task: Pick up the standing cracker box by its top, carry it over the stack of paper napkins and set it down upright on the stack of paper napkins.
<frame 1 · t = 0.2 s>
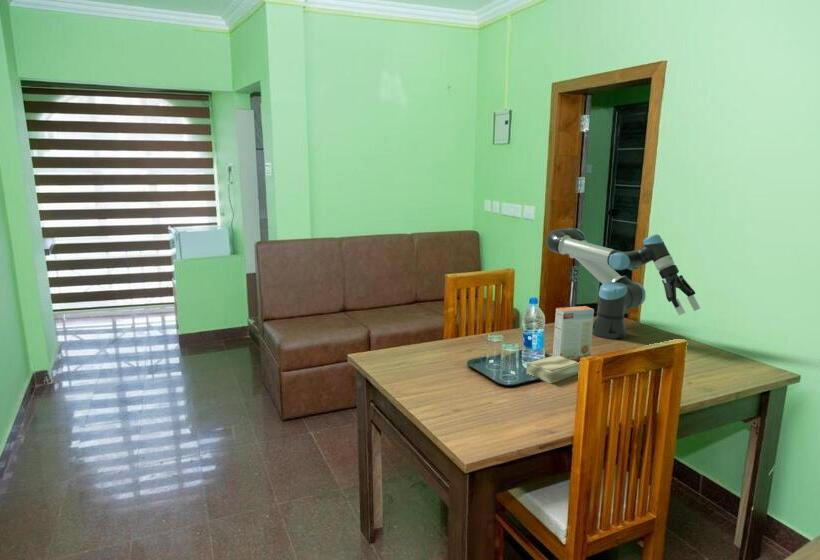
hand: (689, 311, 234), 15 cm above the table, tool tilted 35°, fingers open, 13 cm apart
cracker box: (570, 359, 216), on the table
stack of paper napkins: (552, 373, 200), on the table
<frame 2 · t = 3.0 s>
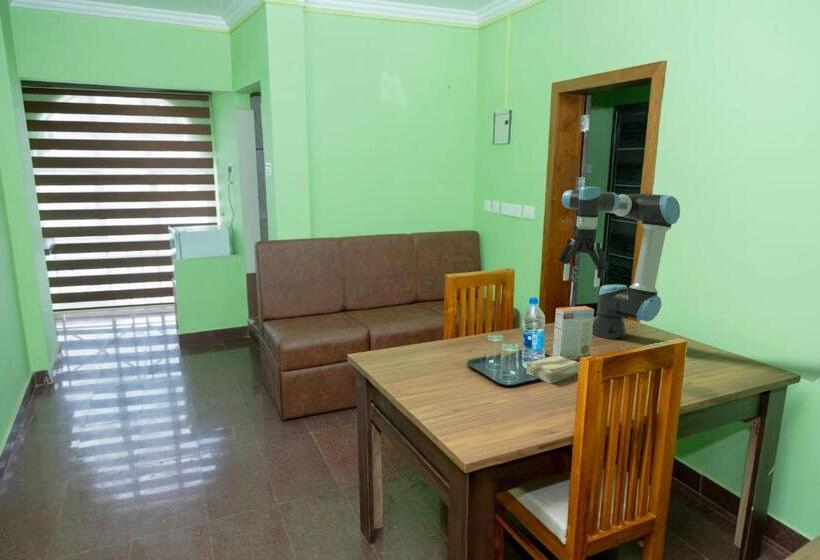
hand: (580, 283, 209), 31 cm above the table, tool pointing down, fingers open, 13 cm apart
nothing on the table moved.
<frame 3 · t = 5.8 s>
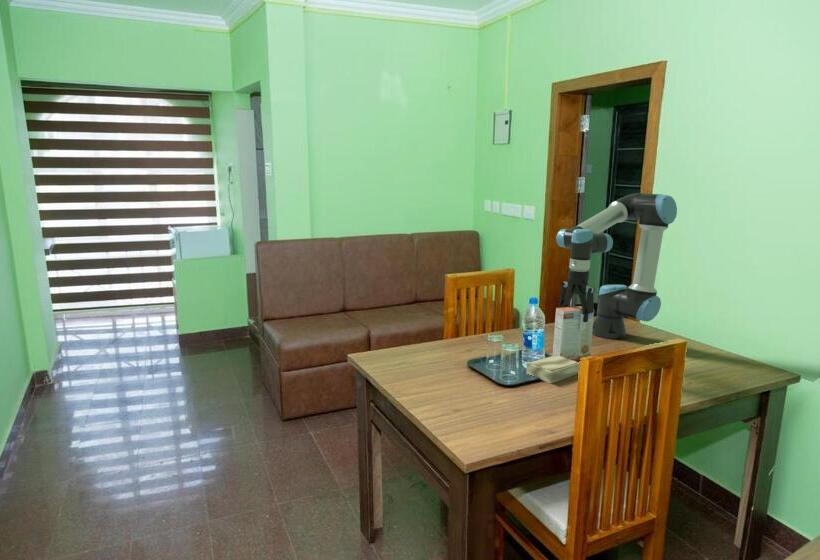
hand: (573, 327, 213), 13 cm above the table, tool pointing down, fingers closed on cracker box, 7 cm apart
cracker box: (570, 359, 216), on the table, touching gripper
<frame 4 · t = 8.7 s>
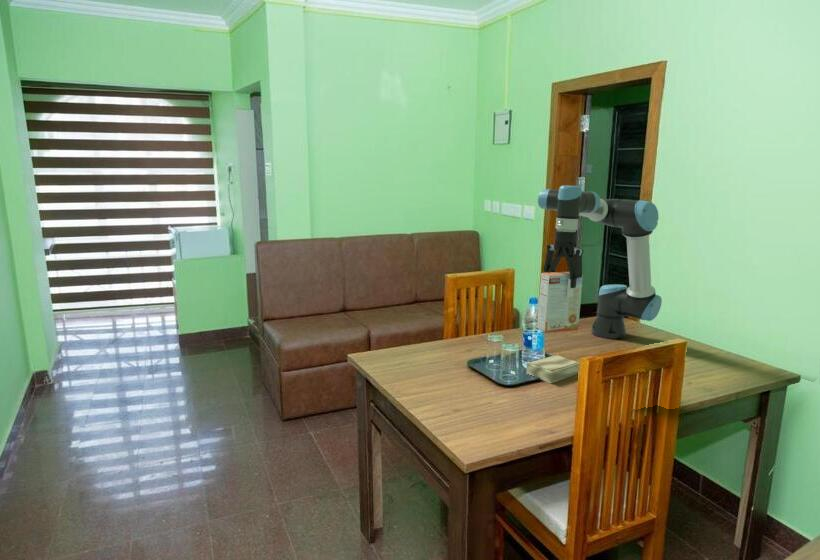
hand: (560, 294, 194), 30 cm above the table, tool pointing down, fingers closed on cracker box, 7 cm apart
cracker box: (556, 330, 197), point 16 cm above the table, touching gripper
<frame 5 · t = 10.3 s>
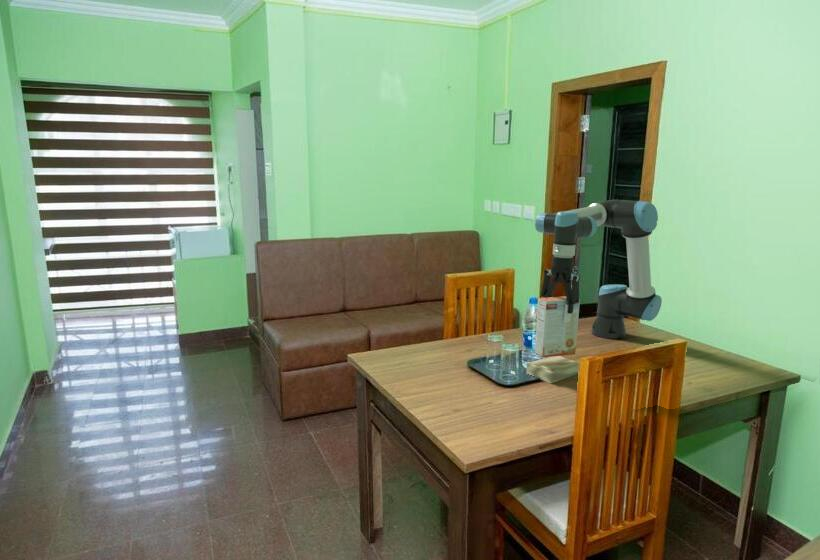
hand: (557, 319, 195), 21 cm above the table, tool pointing down, fingers closed on cracker box, 7 cm apart
cracker box: (554, 354, 198), point 7 cm above the table, touching gripper
when the fingers open (18 cm above the table, at t = 11.7 s): cracker box stays where it is, resting on stack of paper napkins.
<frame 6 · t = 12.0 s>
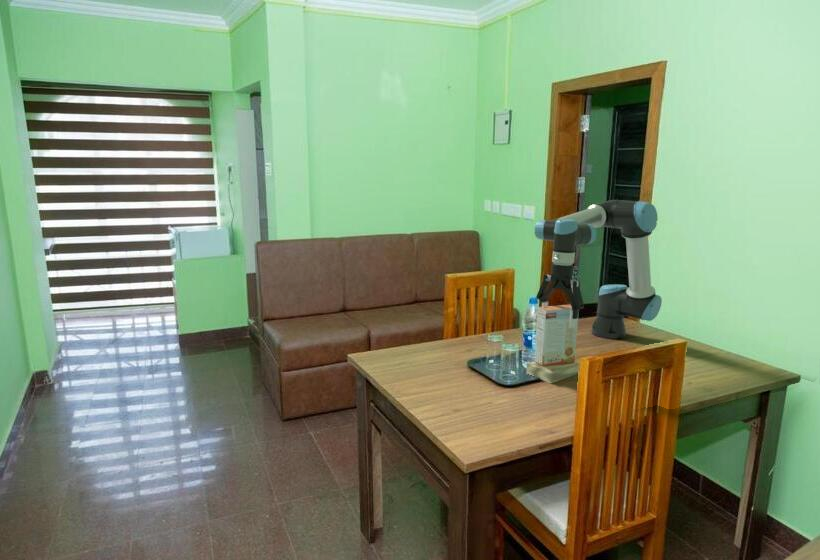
hand: (557, 323, 196), 19 cm above the table, tool pointing down, fingers open, 11 cm apart
cracker box: (553, 362, 199), point 4 cm above the table, touching stack of paper napkins
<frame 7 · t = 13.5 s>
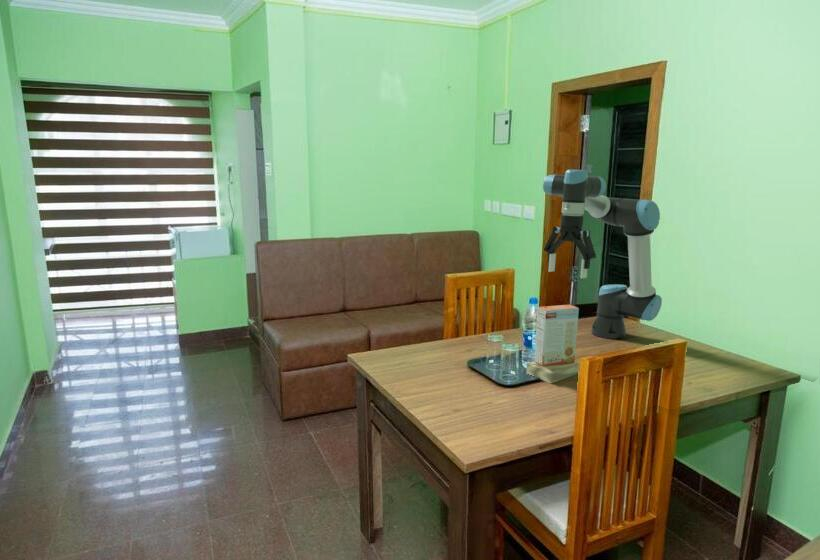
hand: (566, 274, 194), 37 cm above the table, tool pointing down, fingers open, 13 cm apart
nothing on the table moved.
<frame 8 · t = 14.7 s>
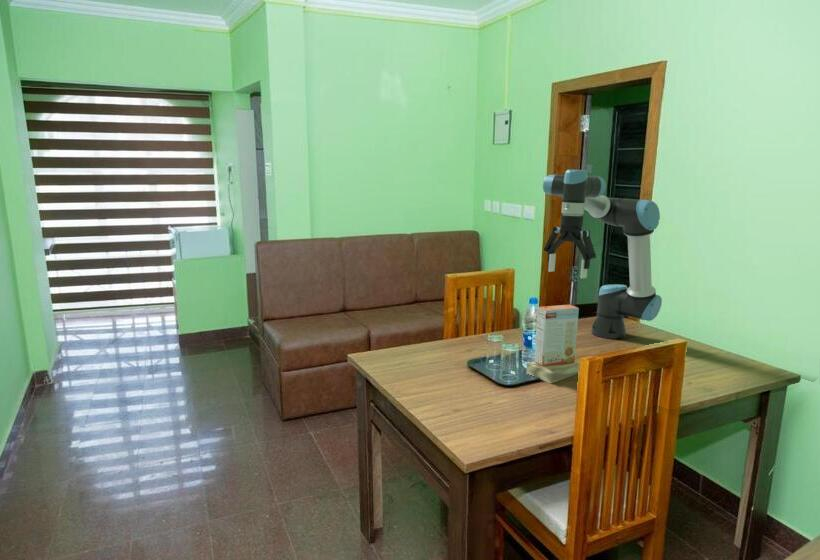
hand: (566, 274, 194), 37 cm above the table, tool pointing down, fingers open, 13 cm apart
nothing on the table moved.
at the end: cracker box 0.2 cm from the stack of paper napkins (horizontally); cracker box touching stack of paper napkins; cracker box tilted 0° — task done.
